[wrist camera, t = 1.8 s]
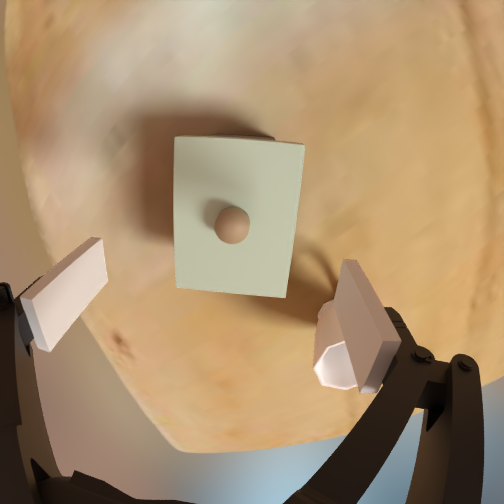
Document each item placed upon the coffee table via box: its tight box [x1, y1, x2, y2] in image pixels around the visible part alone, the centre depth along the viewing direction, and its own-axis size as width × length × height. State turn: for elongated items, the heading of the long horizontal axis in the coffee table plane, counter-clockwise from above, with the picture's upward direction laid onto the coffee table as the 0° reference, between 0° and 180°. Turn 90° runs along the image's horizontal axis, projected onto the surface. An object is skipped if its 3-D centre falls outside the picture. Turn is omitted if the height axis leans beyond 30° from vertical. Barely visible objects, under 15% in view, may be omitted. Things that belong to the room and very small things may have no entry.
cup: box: [313, 299, 358, 390], centre depth 28 cm, size 7×10×8 cm
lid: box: [173, 135, 305, 298], centre depth 22 cm, size 12×9×3 cm
